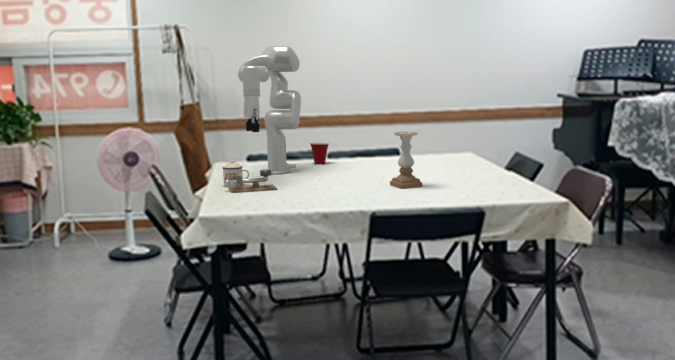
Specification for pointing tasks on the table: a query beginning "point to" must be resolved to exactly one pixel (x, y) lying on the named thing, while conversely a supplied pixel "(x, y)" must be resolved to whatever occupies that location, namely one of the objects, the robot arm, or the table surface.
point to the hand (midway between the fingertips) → (252, 131)
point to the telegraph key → (255, 187)
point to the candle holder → (406, 164)
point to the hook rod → (262, 173)
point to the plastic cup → (319, 152)
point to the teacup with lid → (232, 172)
